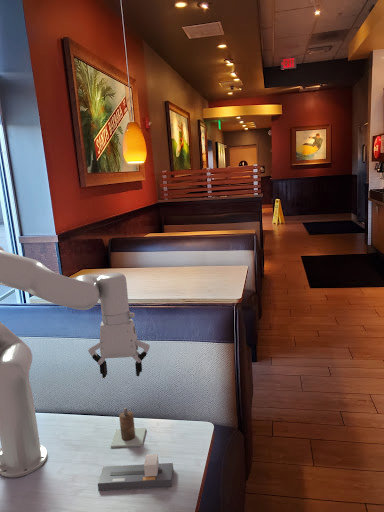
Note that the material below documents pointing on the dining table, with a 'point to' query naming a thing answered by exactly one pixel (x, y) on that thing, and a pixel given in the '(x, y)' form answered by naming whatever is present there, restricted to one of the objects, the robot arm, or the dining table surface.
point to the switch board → (134, 477)
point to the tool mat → (132, 443)
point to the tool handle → (127, 425)
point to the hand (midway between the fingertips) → (121, 375)
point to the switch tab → (151, 465)
